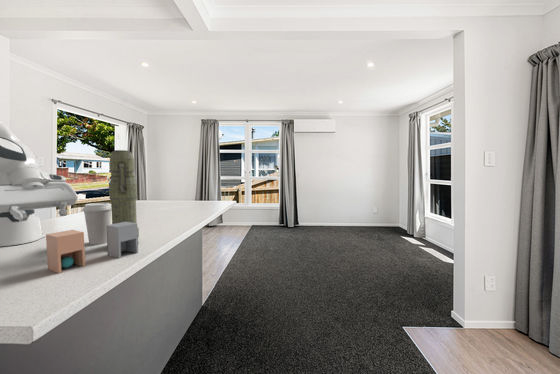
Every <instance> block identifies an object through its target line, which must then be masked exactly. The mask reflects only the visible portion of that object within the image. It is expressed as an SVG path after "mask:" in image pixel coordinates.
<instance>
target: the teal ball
mask: <svg viewBox="0 0 560 374" xmlns="http://www.w3.org/2000/svg"><path fill="white" fill-rule="evenodd" d="M73 265H74V259H73V258H72V257H70V256H66V257H63V258H62V259H61V268H64V269H68V268H71V267H72V266H73Z"/></svg>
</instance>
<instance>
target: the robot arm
mask: <svg viewBox="0 0 560 374" xmlns="http://www.w3.org/2000/svg"><path fill="white" fill-rule="evenodd" d="M66 181H67V178H66V176H64V175H60V174H59V175H58V174H53V173H50V172H46V171H43V169H41V167H40V163H39V160H38V159H37V157H36V155H35V154H34V153H33V151H32V150H31V149H30V148H29V147H28V146H27V145H26V144H24V143H23V142H22V141H21V140H20V138H18V137H17V136H16V135H15V134H14V133H13V132H12V131H11V130H10V129H9V127H7V126H6V125H5V123H3V122H2V121H1V120H0V247H9V246H16V245H23V244H27V243H31V242H36V241H38V240H40V239H43V238H46V234H47V233H42V229H41V228H42V227H41V220H40V217H39V216H36V215H35V212H36V211H35V210H39V209H47V208H48V209H49V208H59V210H58V215H59V217H65V216H67V214H68V211H67V206H69V207H70V206H74V205H75V204H76V203H77V201H78V194H77V192H76V190H75V189H74V187H73V186H72V185H71V184H70V183H68V182H66Z"/></svg>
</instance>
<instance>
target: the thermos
mask: <svg viewBox="0 0 560 374" xmlns="http://www.w3.org/2000/svg"><path fill="white" fill-rule="evenodd" d="M109 157H110V158H109V173H110V180H109V182H108V194H109V196H108V197H109V198H108V199H109V200H110V205H111V224H115V223H121V222H131V223H137V224H138V222H137V198H138V189H137V188H138V186H137V184H138V183H137V182H136V179H135V174H134V173H135V160H134V159H135V157H134V156H133V153H132V151H130V150H124V149H123V150H121V149H119V150H117V149H116V150H114V151H111V154H110V156H109ZM137 231H138V238H139V235H140V233H139V232H140V231H139V227H138V226H137ZM138 244H139V241H138Z"/></svg>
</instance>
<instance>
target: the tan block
mask: <svg viewBox="0 0 560 374" xmlns="http://www.w3.org/2000/svg"><path fill="white" fill-rule="evenodd" d="M45 234H46V237H45V241H46V243H45V244H46V258H47V260H46V261H47V270H50V271H52V272H54V273H56V274H61V273H62V267H61V259H62V258H63V257H66V256H70V257H72V258H73V259H74V263H73V265H74V264H75V265H77V266H81V267H86V253H85V251H86V249H85V233H84V231H82V230H75V229H69V230H63V231H56V232H52V233H45Z"/></svg>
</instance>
